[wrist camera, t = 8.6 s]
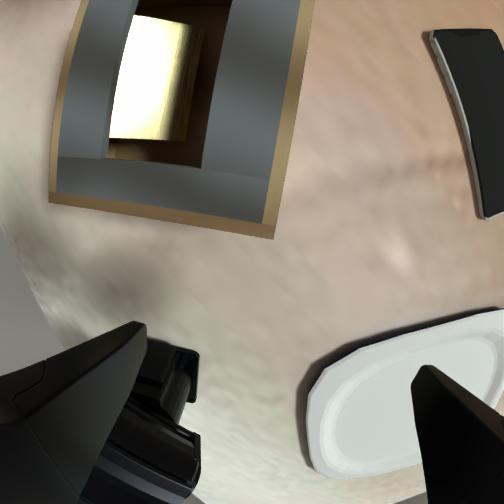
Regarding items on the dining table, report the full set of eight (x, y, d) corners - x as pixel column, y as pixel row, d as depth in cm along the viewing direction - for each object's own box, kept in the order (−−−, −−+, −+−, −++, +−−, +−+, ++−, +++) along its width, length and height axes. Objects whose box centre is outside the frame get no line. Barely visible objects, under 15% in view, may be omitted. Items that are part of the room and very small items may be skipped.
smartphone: (483, 222, 18) (428, 30, 13) (474, 218, 19) (421, 34, 14) (538, 196, 16) (495, 29, 12) (530, 193, 17) (487, 32, 13)
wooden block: (185, 141, 16) (96, 137, 13) (168, 139, 18) (92, 136, 15) (205, 29, 13) (121, 13, 10) (185, 40, 15) (112, 29, 13)
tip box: (274, 208, 19) (273, 239, 13) (108, 183, 20) (47, 202, 13) (307, 13, 15) (320, -41, 8) (140, 6, 15) (93, -32, 8)
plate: (528, 286, 20) (537, 293, 18) (473, 434, 28) (477, 441, 26) (295, 342, 23) (296, 355, 22) (311, 477, 31) (312, 487, 30)
